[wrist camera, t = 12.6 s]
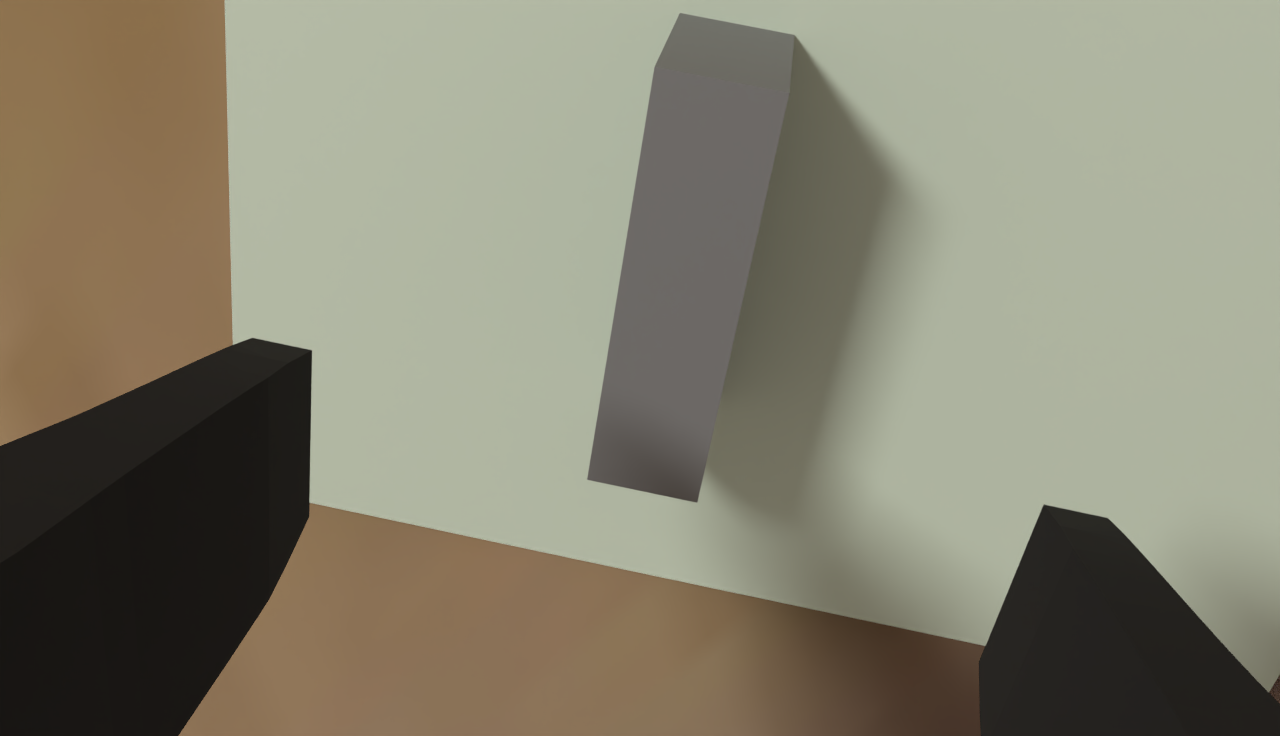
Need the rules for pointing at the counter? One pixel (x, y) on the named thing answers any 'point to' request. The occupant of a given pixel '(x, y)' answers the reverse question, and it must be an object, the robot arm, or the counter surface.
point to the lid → (782, 284)
